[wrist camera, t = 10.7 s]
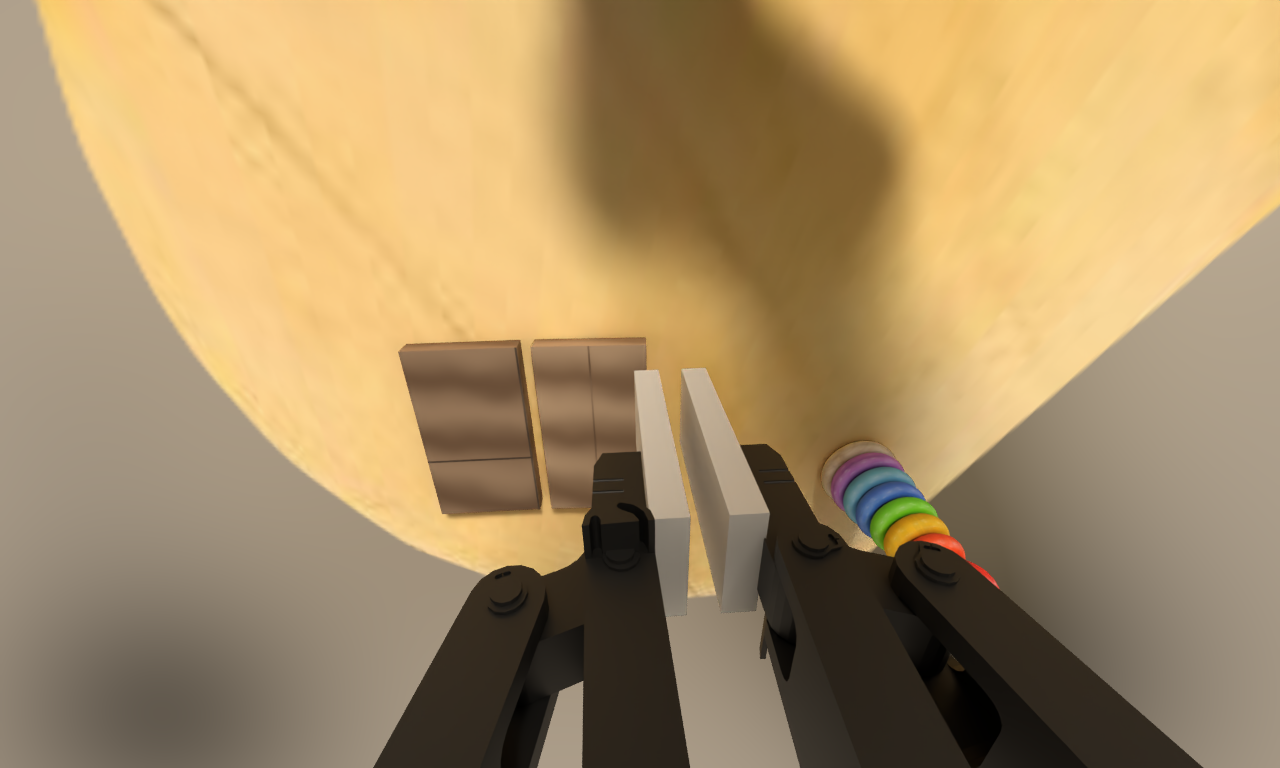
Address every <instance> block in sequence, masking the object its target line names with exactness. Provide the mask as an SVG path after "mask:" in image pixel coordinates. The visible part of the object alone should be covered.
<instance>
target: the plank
mask: <svg viewBox="0 0 1280 768" xmlns="http://www.w3.org/2000/svg"><path fill="white" fill-rule="evenodd" d="M531 354H532V362H533V370H534V377H535V385H536V392H537V400H538V407H539V415H540V422H541V430H542V438H543V445H544V453H545V460H546V468H547V475H548V483H549V490H550V498H551V506H552V508H591V507H592V489H593V472H594V465H595V463H596V462H597V460H598V459H599V458H600V456H601V455H602V453H616V452H637V448H636V421H635V383H634V371H639V370H646V338H594V339H538V340H534V342H533V343H532V345H531Z"/></svg>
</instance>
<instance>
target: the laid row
mask: <svg viewBox="0 0 1280 768" xmlns="http://www.w3.org/2000/svg"><path fill="white" fill-rule="evenodd" d="M398 353H399V357H400V360H401V364H402V368H403V371H404V375H405V379H406V382H407V386H408V390H409V393H410V397H411V401H412V404H413V408H414V412H415V415H416V419H417V423H418V427H419V430H420V434H421V438H422V441H423V445H424V449H425V452H426V456H427V460H428V463H429V467H430V471H431V474H432V478H433V482H434V485H435V489H436V493H437V497H438V500H439V504H440V508H441V511H442V514H452V513H471V512H490V511H509V510H528V509H540V507H541V502H542V490H541V483H540V476H539V469H538V462H537V455H536V448H535V441H534V434H533V427H532V420H531V413H530V406H529V399H528V392H527V385H526V378H525V371H524V364H523V357H522V350H521V343H520V340H507V341H480V342H452V343H425V344H406V345H405V346H404V347H403V348H402V349H401V350H400V351H399V352H398Z"/></svg>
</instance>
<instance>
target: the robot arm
mask: <svg viewBox="0 0 1280 768" xmlns="http://www.w3.org/2000/svg"><path fill="white" fill-rule="evenodd" d="M634 383H635V421H636V448H637V452H616V453H602V455H601V456H600V458H599V459H598V460H597V462H596V463H595V465H594V472H593V489H592V507H591V510H590V511H589V512H588V513H587V514H586V515H585V517H584V520H583V524H582V532H583V542H584V553H583V554H582V555H581V557H580V558H579V559H578V560H577V561H575V562H574V563H572V564H571V565H569V566H568V567H565V568H563V569H561V570H559V571H556V572H553V573H550V574H547V575H544V576H541V575H540V574H539V573H538V572H537V571H535V570H534V569H532V568H529V567H526V566H522V565H517V566H506V567H503V568H500V569H498V570H495V571H492V572H491V573H490V574H488V575H487V576H485V577H484V578H482V579H481V580H480V581H479V583H478V584H477V585H476V586H475V587H474V589H473V590H472V591H471V593H470V595H469V597H468V598H467V600H466V602H465V604H464V605H463V607H462V609H461V611H460V613H459V615H458V616H457V618H456V620H455V622H454V623H453V625H452V627H451V629H450V631H449V632H448V634H447V636H446V638H445V640H444V642H443V643H442V645H441V647H440V649H439V650H438V652H437V654H436V656H435V658H434V659H433V661H432V663H431V665H430V667H429V668H428V670H427V672H426V674H425V676H424V677H423V680H422V681H421V683H420V685H419V686H418V688H417V690H416V692H415V694H414V695H413V697H412V699H411V701H410V703H409V704H408V706H407V708H406V710H405V712H404V714H403V715H402V717H401V719H400V721H399V722H398V724H397V726H396V728H395V730H394V731H393V733H392V735H391V737H390V739H389V740H388V742H387V744H386V746H385V748H384V749H383V751H382V753H381V755H380V757H379V758H378V760H377V762H376V764H375V766H374V767H373V768H537V766H538V763H539V759H540V756H541V752H542V748H543V745H544V742H545V738H546V735H547V731H548V728H549V725H550V721H551V718H552V714H553V711H554V707H555V704H556V700H557V697H558V693H559V691H560V690H563V689H565V688H567V687H570V686H572V685H574V684H576V683H579V682H581V681H584V682H583V687H584V688H583V752H582V756H583V757H582V768H690V764H689V758H688V753H687V746H686V739H685V734H684V728H683V721H682V716H681V709H680V703H679V696H678V690H677V684H676V678H675V672H674V665H673V660H672V653H671V647H670V641H669V635H668V629H667V623H666V617H667V616H683V615H686V614H687V592H688V567H689V543H690V518H691V517H690V513H689V508H688V503H687V499H686V494H685V490H684V485H683V481H682V476H681V471H680V467H679V462H678V458H677V453H676V449H675V444H674V439H673V435H672V430H671V426H670V421H669V417H668V412H667V407H666V403H665V398H664V394H663V389H662V385H661V380H660V375H659V371H658V370H639V371H634ZM680 444H681V449H682V453H683V457H684V461H685V465H686V469H687V474H688V478H689V482H690V486H691V490H692V494H693V499H694V503H695V507H696V511H697V515H698V520H699V524H700V528H701V532H702V536H703V540H704V545H705V549H706V553H707V557H708V561H709V566H710V570H711V574H712V578H713V582H714V586H715V591H716V595H717V599H718V603H719V607H720V611H721V613H731V612H747V611H756V607H757V600H758V593H759V596H760V599H761V602H762V605H763V608H764V611H765V616H764V623H763V630H762V636H761V642H760V659H765V658H766V653H767V648H768V652H769V655H770V659H771V663H772V666H773V670H774V673H775V677H776V680H777V684H778V688H779V692H780V695H781V699H782V702H783V706H784V710H785V713H786V717H787V721H788V724H789V728H790V732H791V735H792V739H793V743H794V746H795V750H796V753H797V757H798V761H799V764H800V768H1203V767H1202V766H1201V765H1199V764H1198V763H1197V762H1196V761H1195V760H1194V759H1193V758H1192V757H1190V756H1189V755H1188V754H1187V753H1186V752H1185V751H1184V750H1182V749H1181V748H1180V747H1179V746H1178V745H1177V744H1176V743H1174V742H1173V741H1172V740H1171V739H1170V738H1169V737H1167V736H1166V735H1165V734H1164V733H1163V732H1162V731H1161V730H1160V729H1158V728H1157V727H1156V726H1155V725H1154V724H1153V723H1151V722H1150V721H1149V720H1148V719H1147V718H1146V717H1145V716H1143V715H1142V714H1141V713H1140V712H1139V711H1138V710H1137V709H1136V708H1134V707H1133V706H1132V705H1131V704H1130V703H1129V702H1127V701H1126V700H1125V699H1124V698H1123V697H1122V696H1121V695H1120V694H1118V693H1117V692H1116V691H1115V690H1114V689H1113V688H1112V687H1110V686H1109V685H1108V684H1107V683H1106V682H1105V681H1104V680H1102V679H1101V678H1100V677H1099V676H1098V675H1097V674H1096V673H1094V672H1093V671H1092V670H1091V669H1090V668H1089V667H1088V666H1086V665H1085V664H1084V663H1083V662H1082V661H1081V660H1079V659H1078V658H1077V657H1076V656H1075V655H1074V654H1073V653H1072V652H1070V651H1069V650H1068V649H1067V648H1066V647H1065V646H1064V645H1062V644H1061V643H1060V642H1059V641H1058V640H1057V639H1056V638H1054V637H1053V636H1052V635H1051V634H1050V633H1049V632H1047V631H1046V630H1045V629H1044V628H1043V627H1042V626H1041V625H1040V624H1038V623H1037V622H1036V621H1035V620H1034V619H1033V618H1032V617H1030V616H1029V615H1028V614H1027V613H1026V612H1025V611H1023V610H1022V609H1021V608H1020V607H1019V606H1018V605H1017V604H1015V603H1014V602H1013V601H1012V600H1011V599H1010V598H1009V597H1008V596H1006V595H1005V594H1004V593H1003V592H1002V591H1001V590H1000V589H998V588H997V587H996V586H995V585H994V584H993V583H992V582H990V581H989V580H988V579H987V578H986V577H985V576H984V575H982V574H981V573H980V572H979V571H978V570H977V569H976V568H974V567H973V566H972V565H971V564H970V563H969V562H968V561H966V560H965V559H964V558H962V557H961V556H959V555H958V554H956V553H955V552H954V551H952V550H950V549H947V548H945V547H943V546H941V545H938V544H935V543H930V542H926V541H908V542H906V543H904V544H902V545H900V546H899V547H898V549H897V551H896V553H895V556H894V557H891V556H885V555H881V554H875V553H870V552H865V551H861V550H857V549H854V548H851V547H849V546H848V545H847V543H846V542H845V541H844V540H843V538H842V537H841V536H840V535H839V534H838V533H837V532H835V531H834V530H832V529H831V528H829V527H828V526H825V525H822V524H820V523H819V522H818V521H817V519H816V517H815V515H814V514H813V512H812V510H811V508H810V506H809V505H808V503H807V501H806V499H805V498H804V496H803V494H802V492H801V491H800V489H799V487H798V485H797V483H796V482H794V478H793V476H792V475H791V473H790V471H788V468H787V466H786V464H785V462H784V460H783V459H782V457H781V455H780V454H778V453H777V452H776V451H775V450H773V449H772V448H771V447H769V446H768V445H767V444H756V445H739V442H738V440H737V438H736V436H735V433H734V431H733V429H732V427H731V424H730V422H729V420H728V418H727V415H726V413H725V411H724V409H723V406H722V404H721V402H720V400H719V397H718V395H717V393H716V391H715V388H714V386H713V384H712V381H711V379H710V377H709V375H708V372H707V370H706V368H689V369H682V371H681V413H680ZM951 654H952V655H951ZM952 656H953V657H954V658H955V659H956V660H957V661H958V662H957V661H956V660H955V659H954V658H953V657H952Z"/></svg>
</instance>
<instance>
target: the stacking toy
mask: <svg viewBox="0 0 1280 768" xmlns="http://www.w3.org/2000/svg"><path fill="white" fill-rule="evenodd" d="M821 482H822V486H823V489H824V491H825V492H826V494H827V495H828V496H829V497H830V498H832V499H833V500H834V502H835V503H836V505H837V506H838V507H839V508H840V509H842V510H843V511H845V512H846V514H847V515H848V517H849V518H850V519H851V520H852V521H853V522H855V523H856V524H858V526H859V528H860V529H861V531H862V532H863V533H864V534H866V535H867V536H869V537H871V538H872V539H873V541H874V542H875V543H876V545H877V546H879V547H880V548H881V549H883V550H885V553H886V555H887V556H891V557H894V556H895V553H896V551H897V549H898V547H899V546H900V545H902V544H904V543H906V542H908V541H926V542H930V543H935V544H938V545H941V546H943V547H945V548H947V549H950V550H952V551H954V552H955V553H956V554H958V555H959V556H961V557H962V558H964V559H965V552H964V550H963V547H962V546H961V544H960V543H959V542H958V541H957V540H955V539H954V538H952V537H951V536H950V535H949V531H948V528H947V527H946V525H945V524H944V522H943V521H942V520H940V519H939V518H938V515H937V512H936V511H935V509H934V508H933V507H932V506H931V505H930V504H929V503H928V502H926V501H925V498H924V496H923V494H922V493H921V492H920V491H919V490H918V489H917V488H916V486H915V484H914V482H913V480H912V479H911V478H910V476H909V475H907V474H906V473H905V472H904V469H903V467H902V466H901V464H900V463H899V462H898V461H897V460H896V459H895V457H894V455H893V453H892V452H891V451H890V450H889V449H888V448H887V447H885V446H884V445H882V444H879V443H877V442H872V441H858V442H853V443H850V444H848V445H845V446H843V447H842V448H840V449H838V450H837V451H836V452H834V453H833V454H832V455H831V456H830V457H829V458H828V460H827V461H826V463H825V464H824V466H823V469H822V473H821ZM966 561H967V560H966ZM968 562H969V563H970V564H971V565H972V566H973V567H974V568H976V569H977V570H978V571H979V572H980V573H981V574H982V575H984V576H985V577H986V578H987V579H988V580H989V581H990V582H992V583H993V584H994V585H995V586H996V587H997V588H998V589H999V587H998V585H997V583H996V582H995V580H994V579H993V578H992V577H991V576H990V574H989V573H987V572H986V571H985V570H984V569H983V568H981V567H980V566H978V565H976V564H974V563H972V562H970V561H968Z"/></svg>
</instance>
